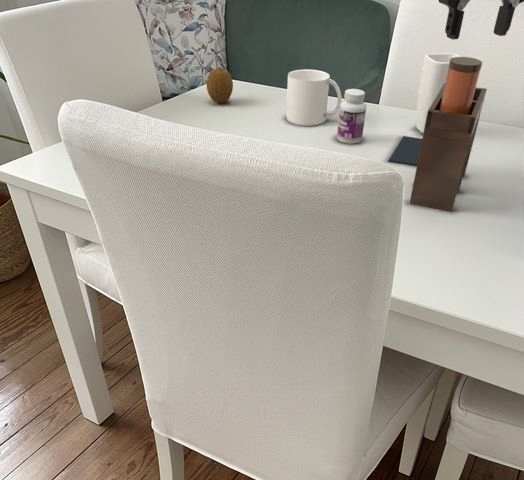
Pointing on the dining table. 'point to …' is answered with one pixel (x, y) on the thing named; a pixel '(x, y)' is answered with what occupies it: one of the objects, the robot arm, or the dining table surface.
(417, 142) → the mat
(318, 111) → the mug
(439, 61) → the cup
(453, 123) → the rack
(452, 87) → the spice jar
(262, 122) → the dining table surface
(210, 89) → the fruit
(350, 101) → the pill bottle
